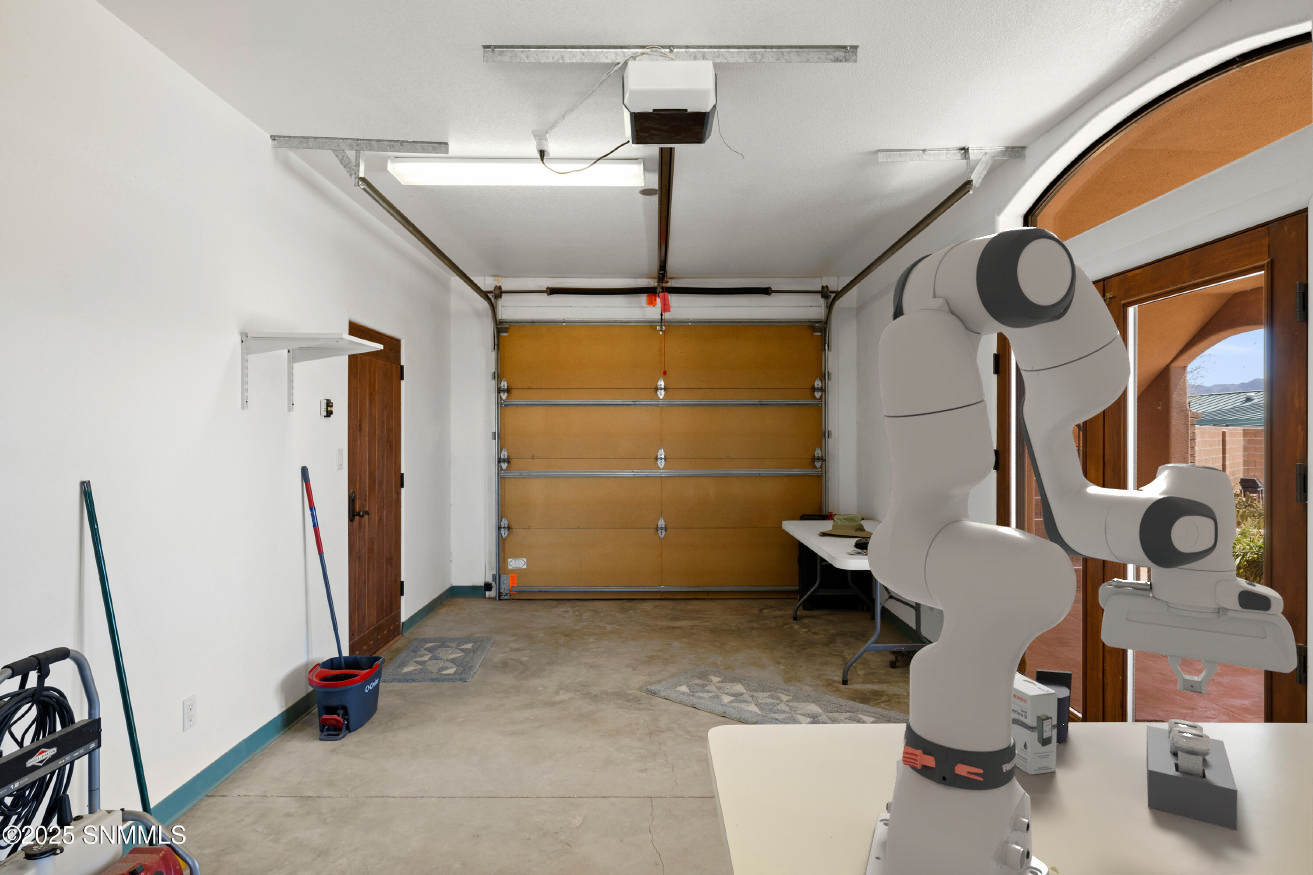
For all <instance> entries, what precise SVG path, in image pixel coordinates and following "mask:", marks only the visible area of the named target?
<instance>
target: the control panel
mask: <svg viewBox="0 0 1313 875" xmlns="http://www.w3.org/2000/svg"><path fill="white" fill-rule="evenodd" d="M1174 755H1176V754H1174V753H1172V752H1171V751H1170V737H1169V736H1168V728H1167V729H1166V728H1163V727H1158V726H1153V725H1146V783H1147V784H1146V785H1147V789H1146V790H1147V807H1148V808H1151V809H1153V810H1154V809H1155V810H1158V811H1161V812H1165V813H1170V814H1174V815H1177V816H1181V817H1184V818H1189V819H1193V820H1195V821H1201V822H1204V823H1207V822H1208V824H1211V825H1217V826H1219V827H1223V828H1227V829H1231V830H1234V831H1237V828H1238V823H1237V822H1238V788H1237V785H1236V781H1235V778H1234V774H1233V770H1232V767H1231V764H1230V760H1229V757H1228V753H1227V750H1226V747H1225V743H1224V740H1221V739H1216V738H1211V737H1210V754H1209V755H1208V756H1206V758H1205V759H1203V760H1202V778H1201V777H1197V776H1192V775H1188V774H1184V773H1179V772H1176V770H1178V771H1179V768H1178V757H1177V756H1174Z"/></svg>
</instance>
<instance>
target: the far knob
mask: <svg viewBox="0 0 1313 875" xmlns="http://www.w3.org/2000/svg"><path fill="white" fill-rule="evenodd" d="M1167 723H1168V724H1167V730H1168V736H1169V737H1170V734H1171V731H1172V729H1173V728H1188V729H1193V730H1196V731H1199V732H1202V733H1204V728H1203V726H1202V725H1200V724H1198V723H1195V722H1193V721H1188V720H1183V719H1179V718H1178V719H1175V718H1174V719H1172V718H1171V719H1169V720H1168V721H1167ZM1174 756H1176V755H1174Z"/></svg>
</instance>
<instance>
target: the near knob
mask: <svg viewBox="0 0 1313 875" xmlns="http://www.w3.org/2000/svg"><path fill="white" fill-rule="evenodd" d="M1210 738H1211V737H1210V736H1209V735H1207V734H1206V733H1205V732H1203V733H1202V732H1199V731H1196V730H1193V729H1188V728H1173V729H1172V731H1171V746H1172V747H1173V748H1174V749H1176V750H1178V768H1179V773H1184V774H1188V775H1192V776H1197V777H1201V778H1203V776H1202V760H1203V756H1208V755H1209V754H1210Z"/></svg>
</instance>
